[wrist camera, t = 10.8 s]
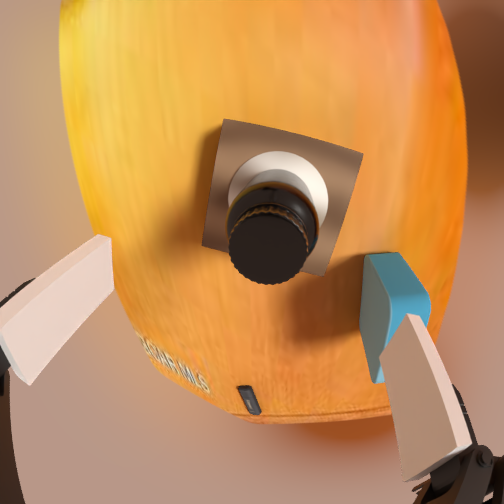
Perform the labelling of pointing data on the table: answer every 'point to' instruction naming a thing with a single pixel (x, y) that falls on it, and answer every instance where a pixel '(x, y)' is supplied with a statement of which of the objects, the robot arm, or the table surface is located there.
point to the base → (287, 158)
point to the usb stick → (250, 399)
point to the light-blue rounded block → (387, 304)
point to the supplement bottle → (272, 227)
